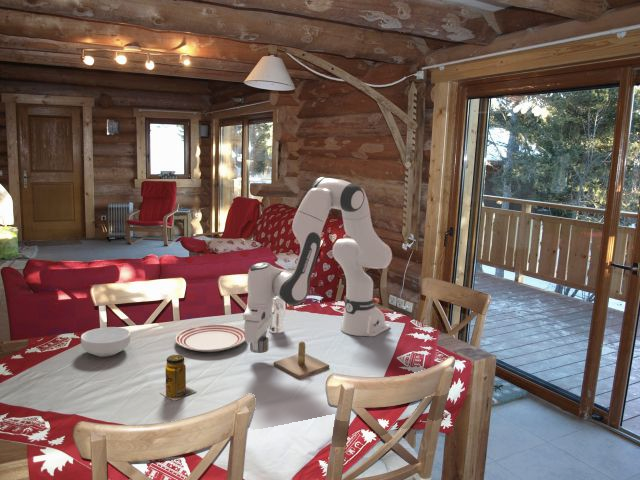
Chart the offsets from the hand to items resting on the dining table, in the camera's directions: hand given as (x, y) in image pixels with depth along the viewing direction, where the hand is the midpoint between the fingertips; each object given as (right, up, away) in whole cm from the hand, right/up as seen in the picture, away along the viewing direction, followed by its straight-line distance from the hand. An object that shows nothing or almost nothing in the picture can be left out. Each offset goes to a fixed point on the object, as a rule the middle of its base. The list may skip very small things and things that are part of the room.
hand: (259, 345), depth 194 cm
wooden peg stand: (+15, -7, -3) cm, 17 cm away
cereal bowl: (-56, -4, +3) cm, 56 cm away
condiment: (-22, -10, -25) cm, 35 cm away
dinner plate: (-20, -3, +16) cm, 26 cm away
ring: (0, -2, 0) cm, 2 cm away
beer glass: (+4, 0, +31) cm, 31 cm away
